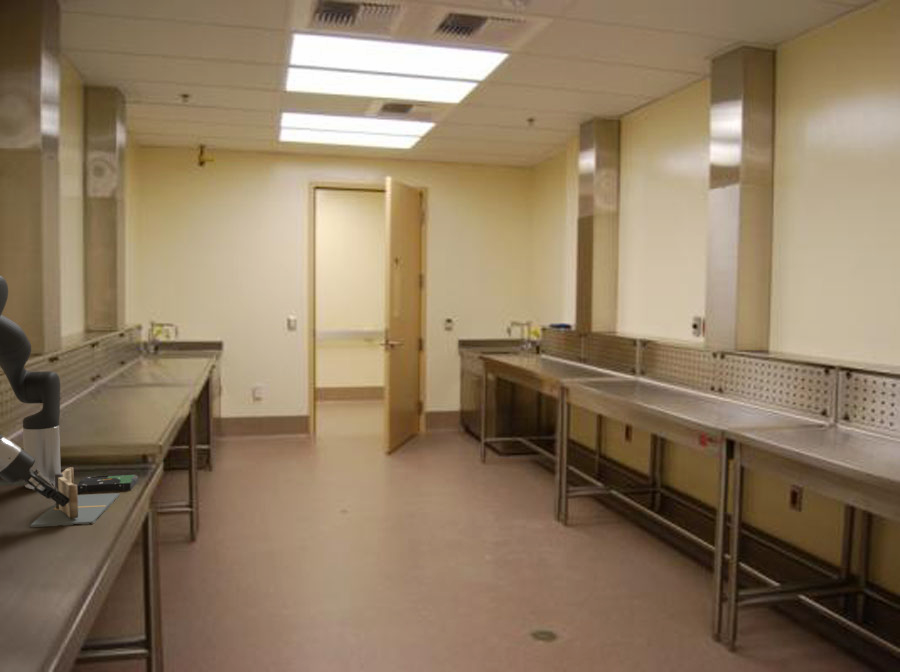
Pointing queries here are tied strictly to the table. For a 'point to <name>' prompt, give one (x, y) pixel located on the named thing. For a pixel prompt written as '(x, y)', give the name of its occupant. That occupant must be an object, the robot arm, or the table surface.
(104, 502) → the board
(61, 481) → the hinged fence panel
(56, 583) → the table surface
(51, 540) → the table surface
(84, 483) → the disk drive
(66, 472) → the fixed fence section
